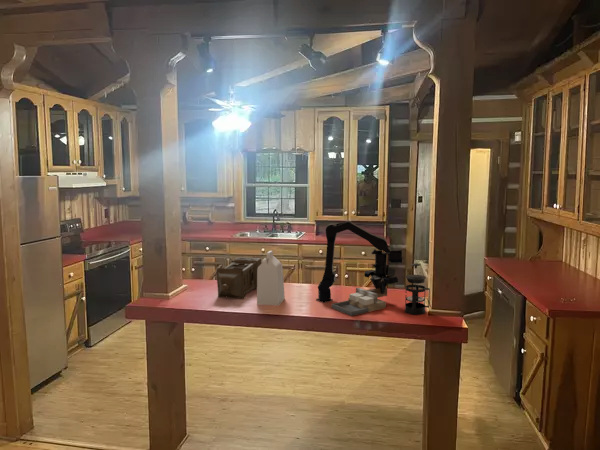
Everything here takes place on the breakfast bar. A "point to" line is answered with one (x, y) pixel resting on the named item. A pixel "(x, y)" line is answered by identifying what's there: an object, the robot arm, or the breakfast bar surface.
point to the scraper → (372, 293)
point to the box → (348, 308)
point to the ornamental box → (238, 277)
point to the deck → (371, 307)
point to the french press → (416, 294)
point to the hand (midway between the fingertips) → (380, 293)
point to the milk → (270, 281)
